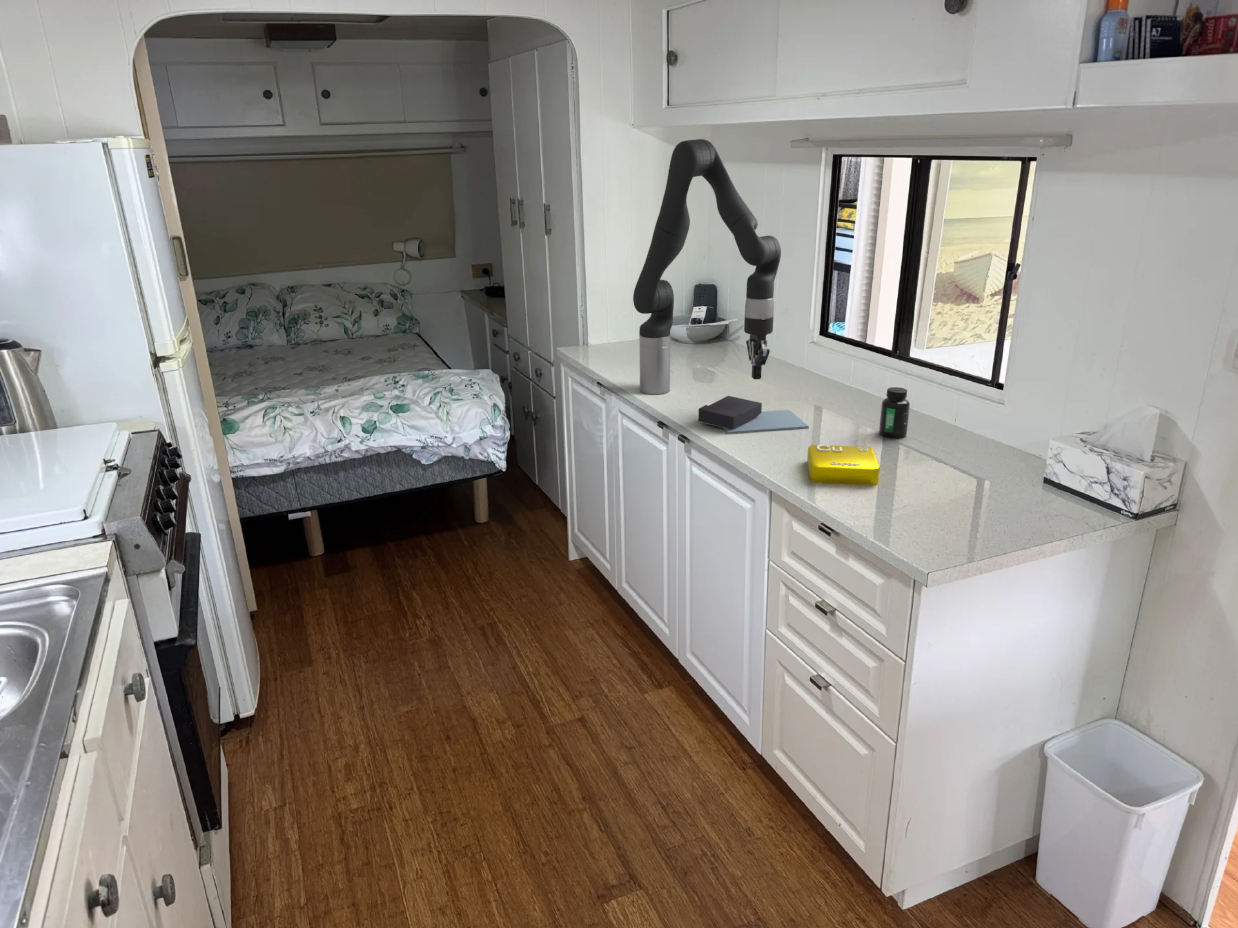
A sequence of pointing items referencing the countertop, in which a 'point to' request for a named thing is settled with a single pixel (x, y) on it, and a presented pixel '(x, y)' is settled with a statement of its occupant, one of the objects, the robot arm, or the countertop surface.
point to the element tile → (843, 465)
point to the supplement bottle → (894, 414)
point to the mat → (770, 422)
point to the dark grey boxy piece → (729, 412)
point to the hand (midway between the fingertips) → (756, 378)
